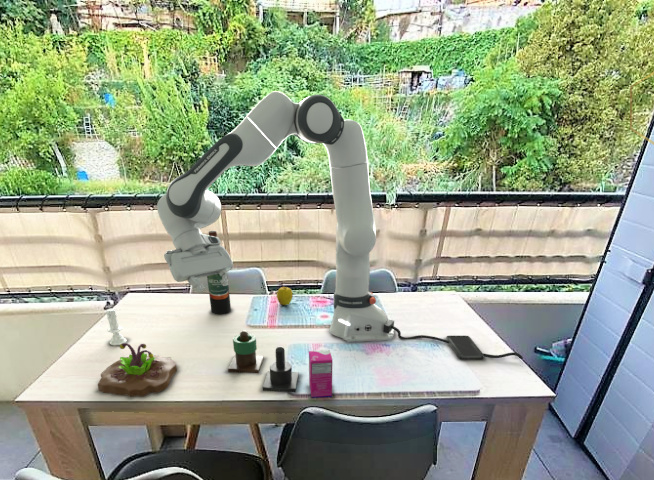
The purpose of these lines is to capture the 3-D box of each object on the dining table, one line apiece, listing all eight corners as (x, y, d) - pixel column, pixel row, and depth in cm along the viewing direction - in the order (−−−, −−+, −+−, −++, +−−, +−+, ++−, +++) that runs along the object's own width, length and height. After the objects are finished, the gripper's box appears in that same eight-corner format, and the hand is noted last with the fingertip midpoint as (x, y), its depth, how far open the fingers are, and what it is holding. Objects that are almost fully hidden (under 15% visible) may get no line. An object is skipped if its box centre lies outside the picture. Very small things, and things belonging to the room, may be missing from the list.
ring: (246, 342, 127) (245, 331, 125) (260, 349, 123) (260, 338, 121) (229, 349, 123) (228, 338, 121) (243, 356, 119) (242, 345, 117)
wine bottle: (233, 308, 166) (225, 229, 151) (228, 315, 159) (219, 234, 144) (214, 307, 166) (205, 229, 151) (208, 314, 160) (198, 233, 145)
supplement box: (308, 387, 115) (308, 350, 109) (329, 386, 115) (330, 349, 110) (310, 398, 110) (310, 360, 104) (332, 397, 110) (334, 359, 105)
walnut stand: (263, 359, 129) (262, 325, 123) (258, 373, 121) (256, 338, 115) (235, 357, 130) (232, 324, 124) (228, 372, 122) (224, 336, 116)
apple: (286, 308, 165) (286, 289, 161) (274, 305, 168) (273, 286, 164) (296, 304, 170) (295, 285, 166) (283, 301, 173) (282, 282, 169)
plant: (120, 360, 128) (111, 327, 122) (183, 361, 127) (177, 328, 122) (88, 396, 111) (76, 359, 105) (161, 398, 110) (153, 361, 104)
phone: (459, 356, 128) (445, 335, 141) (459, 359, 129) (445, 338, 142) (485, 356, 128) (468, 335, 141) (484, 359, 129) (468, 338, 142)
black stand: (298, 375, 120) (298, 340, 114) (295, 392, 113) (294, 355, 107) (268, 374, 121) (266, 338, 115) (262, 391, 113) (260, 353, 107)
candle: (120, 346, 136) (112, 311, 130) (106, 344, 137) (97, 310, 131) (130, 339, 141) (122, 305, 135) (115, 338, 142) (107, 304, 136)
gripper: (165, 245, 114) (189, 289, 114) (223, 237, 128) (244, 276, 128) (157, 257, 119) (180, 300, 119) (213, 248, 133) (234, 286, 133)
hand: (214, 287), depth 124 cm, fingers open, 8 cm apart
